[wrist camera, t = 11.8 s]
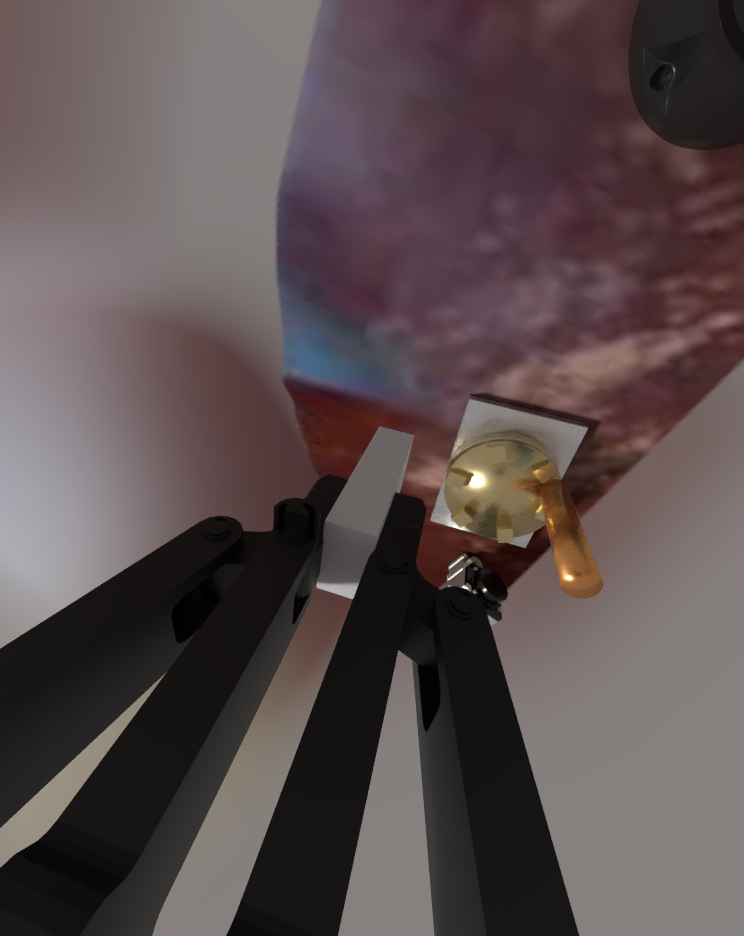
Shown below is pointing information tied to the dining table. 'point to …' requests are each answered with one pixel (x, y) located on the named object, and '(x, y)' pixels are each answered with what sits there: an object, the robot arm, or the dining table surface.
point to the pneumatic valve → (478, 584)
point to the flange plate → (502, 417)
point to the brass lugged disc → (520, 502)
